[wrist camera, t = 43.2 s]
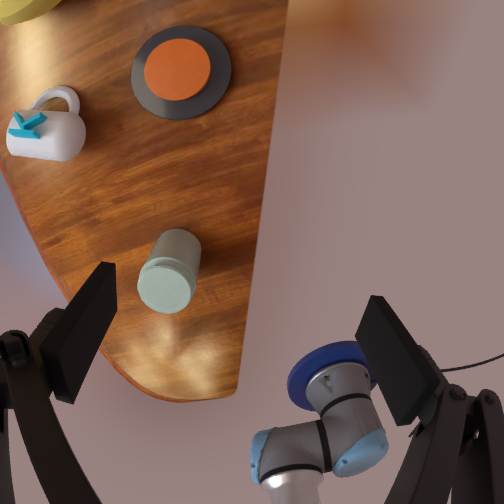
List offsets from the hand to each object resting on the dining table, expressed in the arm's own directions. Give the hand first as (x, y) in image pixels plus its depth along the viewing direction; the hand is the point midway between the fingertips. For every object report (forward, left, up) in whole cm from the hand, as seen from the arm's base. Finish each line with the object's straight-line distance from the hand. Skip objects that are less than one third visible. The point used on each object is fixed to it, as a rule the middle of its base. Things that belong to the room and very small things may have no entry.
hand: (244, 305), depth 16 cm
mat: (+10, -14, -33) cm, 37 cm away
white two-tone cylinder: (+28, -6, -33) cm, 43 cm away
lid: (+10, -14, -30) cm, 34 cm away
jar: (+7, +13, -33) cm, 36 cm away
